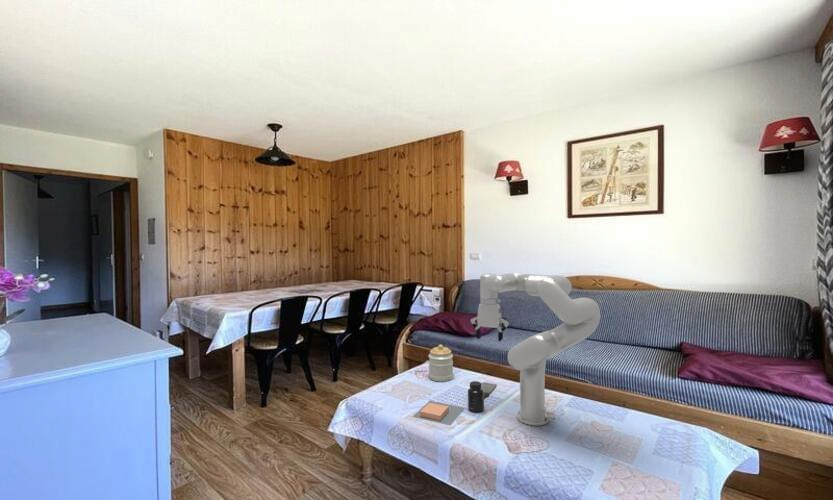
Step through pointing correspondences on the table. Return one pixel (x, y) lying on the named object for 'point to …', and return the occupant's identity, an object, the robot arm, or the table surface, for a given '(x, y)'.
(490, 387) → the cleaver
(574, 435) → the table surface
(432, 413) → the tile
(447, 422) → the slate mat
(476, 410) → the supplement bottle
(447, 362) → the jar
